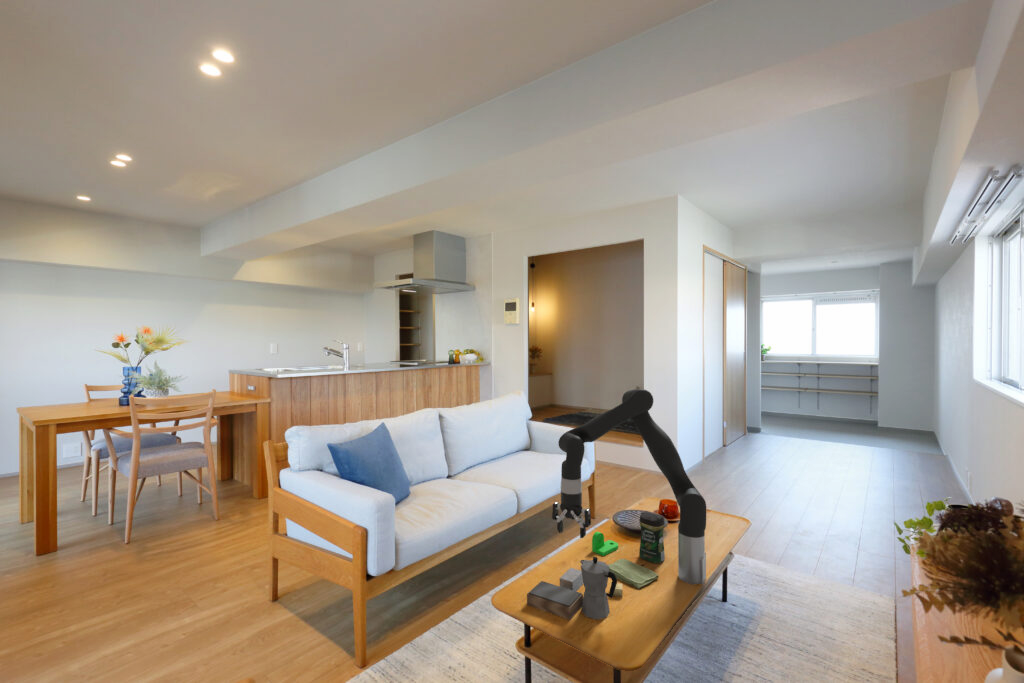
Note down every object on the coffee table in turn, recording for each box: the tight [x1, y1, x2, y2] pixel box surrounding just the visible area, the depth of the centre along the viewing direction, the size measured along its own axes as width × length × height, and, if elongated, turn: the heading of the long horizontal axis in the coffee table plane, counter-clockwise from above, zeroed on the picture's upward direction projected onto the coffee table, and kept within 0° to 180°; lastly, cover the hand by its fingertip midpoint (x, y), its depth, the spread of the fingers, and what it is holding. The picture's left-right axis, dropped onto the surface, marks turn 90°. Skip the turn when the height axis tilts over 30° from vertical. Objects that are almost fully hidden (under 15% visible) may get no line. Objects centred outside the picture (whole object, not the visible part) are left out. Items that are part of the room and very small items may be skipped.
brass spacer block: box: [613, 582, 624, 598], centre depth 165 cm, size 4×4×3 cm
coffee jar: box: [638, 510, 666, 564], centre depth 191 cm, size 10×8×19 cm
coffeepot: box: [579, 556, 618, 620], centre depth 153 cm, size 15×9×18 cm, turn 39°
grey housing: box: [559, 567, 584, 592], centre depth 169 cm, size 5×13×5 cm, turn 147°
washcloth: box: [607, 558, 660, 590], centre depth 178 cm, size 13×18×3 cm
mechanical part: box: [591, 531, 619, 557], centre depth 199 cm, size 12×6×8 cm, turn 131°
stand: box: [526, 580, 584, 621], centre depth 158 cm, size 16×10×4 cm, turn 57°
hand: (571, 534), depth 169 cm, fingers open, 8 cm apart
